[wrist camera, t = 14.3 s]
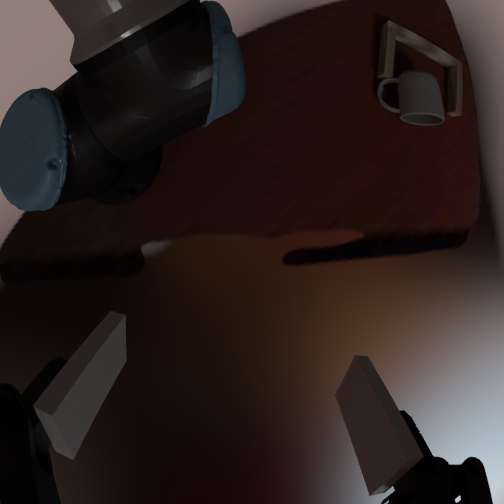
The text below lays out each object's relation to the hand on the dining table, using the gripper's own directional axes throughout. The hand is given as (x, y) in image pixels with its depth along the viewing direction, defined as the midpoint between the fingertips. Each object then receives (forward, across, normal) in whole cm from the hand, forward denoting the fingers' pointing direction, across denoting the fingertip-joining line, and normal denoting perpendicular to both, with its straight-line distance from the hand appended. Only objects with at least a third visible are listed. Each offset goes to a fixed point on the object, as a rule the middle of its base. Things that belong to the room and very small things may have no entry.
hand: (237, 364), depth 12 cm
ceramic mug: (+31, +21, +28) cm, 47 cm away
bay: (+31, +24, +36) cm, 53 cm away
